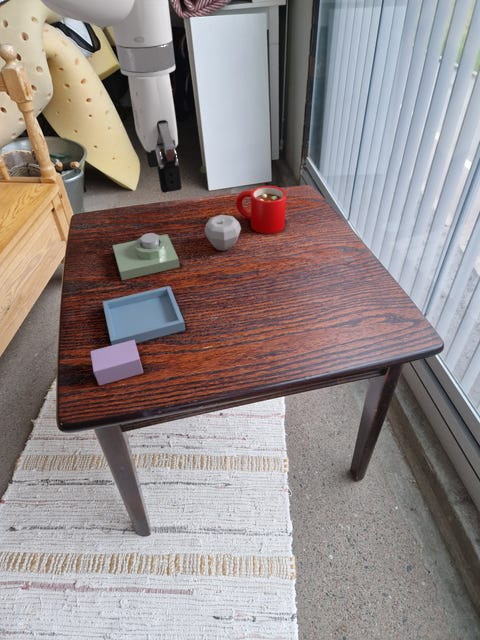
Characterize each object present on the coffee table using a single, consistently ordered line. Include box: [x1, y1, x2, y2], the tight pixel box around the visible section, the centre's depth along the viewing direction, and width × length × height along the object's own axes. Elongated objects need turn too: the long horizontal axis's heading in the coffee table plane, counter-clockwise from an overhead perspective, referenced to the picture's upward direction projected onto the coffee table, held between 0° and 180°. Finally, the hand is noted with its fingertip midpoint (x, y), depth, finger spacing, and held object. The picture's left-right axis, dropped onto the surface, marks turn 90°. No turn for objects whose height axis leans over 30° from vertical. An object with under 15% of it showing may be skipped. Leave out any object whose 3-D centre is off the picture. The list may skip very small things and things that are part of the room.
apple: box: [204, 214, 242, 252], centre depth 90 cm, size 8×8×7 cm
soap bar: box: [90, 340, 144, 387], centre depth 67 cm, size 7×4×4 cm, turn 110°
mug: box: [235, 185, 287, 235], centre depth 97 cm, size 8×12×8 cm, turn 67°
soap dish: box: [102, 285, 186, 346], centre depth 75 cm, size 13×11×2 cm
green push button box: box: [112, 233, 181, 281], centre depth 88 cm, size 12×10×4 cm
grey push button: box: [140, 232, 159, 249], centre depth 87 cm, size 4×4×2 cm
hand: (164, 177), depth 69 cm, fingers open, 9 cm apart
